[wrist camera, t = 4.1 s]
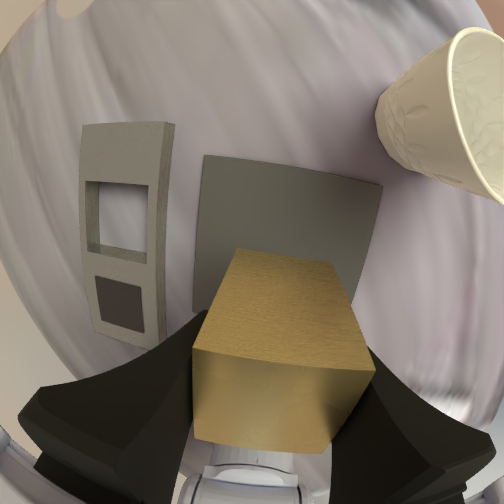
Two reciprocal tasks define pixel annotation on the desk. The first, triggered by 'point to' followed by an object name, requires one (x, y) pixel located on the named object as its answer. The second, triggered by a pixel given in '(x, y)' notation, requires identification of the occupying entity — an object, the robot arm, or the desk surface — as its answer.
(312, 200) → the mat
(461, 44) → the white cup
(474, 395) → the desk surface
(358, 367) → the brass rectangular block
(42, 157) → the desk surface
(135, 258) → the grey plate with hole
